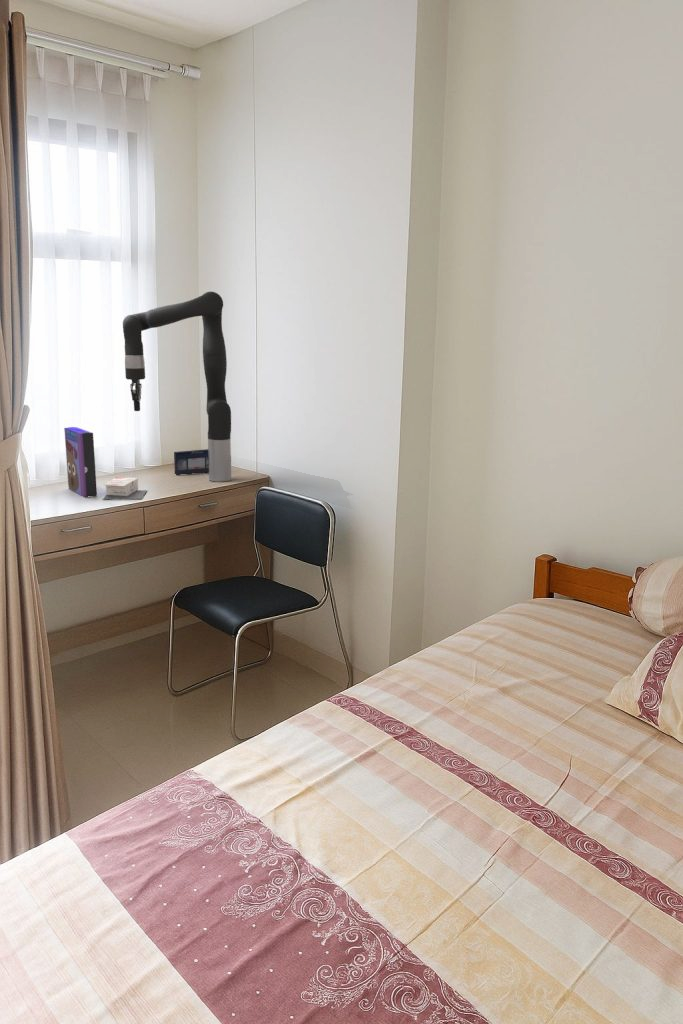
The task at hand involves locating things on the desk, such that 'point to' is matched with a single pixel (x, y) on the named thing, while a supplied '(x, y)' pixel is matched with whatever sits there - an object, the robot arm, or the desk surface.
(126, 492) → the ink cartridge box
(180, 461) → the vhs cassette tape
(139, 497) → the mat
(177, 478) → the desk surface
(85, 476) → the cereal box
